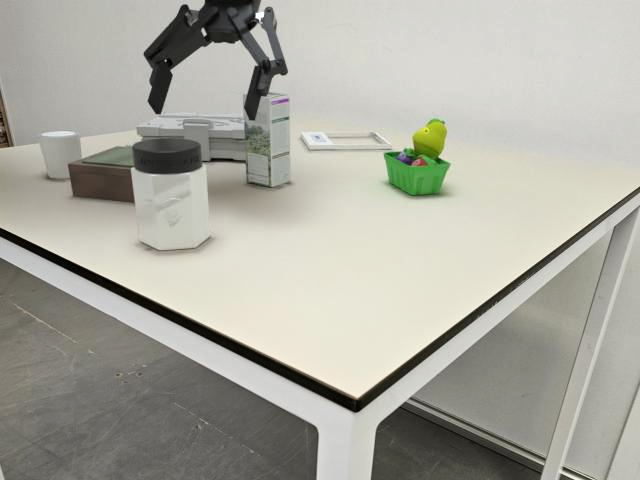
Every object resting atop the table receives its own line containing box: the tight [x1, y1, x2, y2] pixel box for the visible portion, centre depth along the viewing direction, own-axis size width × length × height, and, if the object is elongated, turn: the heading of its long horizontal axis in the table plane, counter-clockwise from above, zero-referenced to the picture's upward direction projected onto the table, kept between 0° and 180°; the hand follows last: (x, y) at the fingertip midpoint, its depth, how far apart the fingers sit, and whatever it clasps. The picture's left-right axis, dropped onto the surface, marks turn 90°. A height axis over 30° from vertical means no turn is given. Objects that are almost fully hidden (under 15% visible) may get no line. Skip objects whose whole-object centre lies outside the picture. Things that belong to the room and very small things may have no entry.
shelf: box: [68, 145, 135, 203], centre depth 97 cm, size 14×14×5 cm
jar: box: [131, 138, 212, 252], centre depth 75 cm, size 9×8×12 cm
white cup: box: [36, 129, 83, 180], centre depth 104 cm, size 7×7×7 cm
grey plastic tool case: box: [124, 110, 246, 162], centre depth 122 cm, size 19×28×8 cm
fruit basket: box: [383, 117, 452, 196], centre depth 101 cm, size 11×9×11 cm
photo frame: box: [300, 131, 393, 151], centre depth 136 cm, size 15×1×18 cm
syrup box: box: [242, 91, 292, 188], centre depth 101 cm, size 6×6×14 cm
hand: (200, 111), depth 80 cm, fingers open, 13 cm apart
